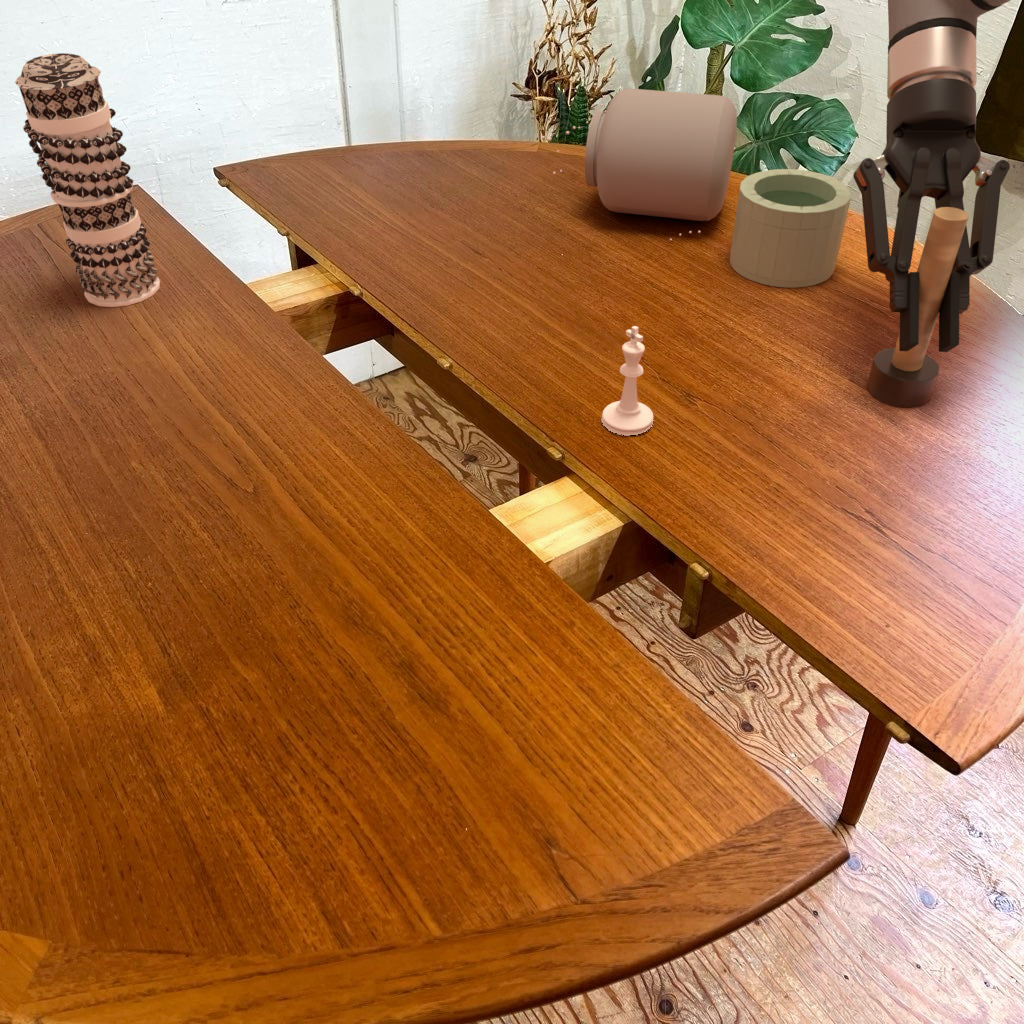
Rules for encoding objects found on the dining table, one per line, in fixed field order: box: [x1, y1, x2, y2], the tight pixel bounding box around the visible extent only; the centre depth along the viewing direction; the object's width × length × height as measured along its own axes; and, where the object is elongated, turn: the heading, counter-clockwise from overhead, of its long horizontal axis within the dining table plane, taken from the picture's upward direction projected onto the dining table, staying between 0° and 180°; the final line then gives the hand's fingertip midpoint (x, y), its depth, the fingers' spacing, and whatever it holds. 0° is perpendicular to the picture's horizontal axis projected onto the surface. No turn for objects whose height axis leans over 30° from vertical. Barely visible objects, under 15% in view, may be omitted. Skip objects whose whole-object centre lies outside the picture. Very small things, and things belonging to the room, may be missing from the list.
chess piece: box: [600, 325, 655, 437], centre depth 87 cm, size 5×5×10 cm
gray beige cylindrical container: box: [729, 168, 852, 289], centre depth 111 cm, size 12×12×9 cm
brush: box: [866, 207, 970, 408], centre depth 88 cm, size 6×6×18 cm
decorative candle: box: [14, 52, 161, 308], centre depth 103 cm, size 9×9×25 cm
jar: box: [541, 88, 738, 242], centre depth 122 cm, size 19×15×25 cm
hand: (928, 347), depth 86 cm, fingers closed on brush, 3 cm apart
